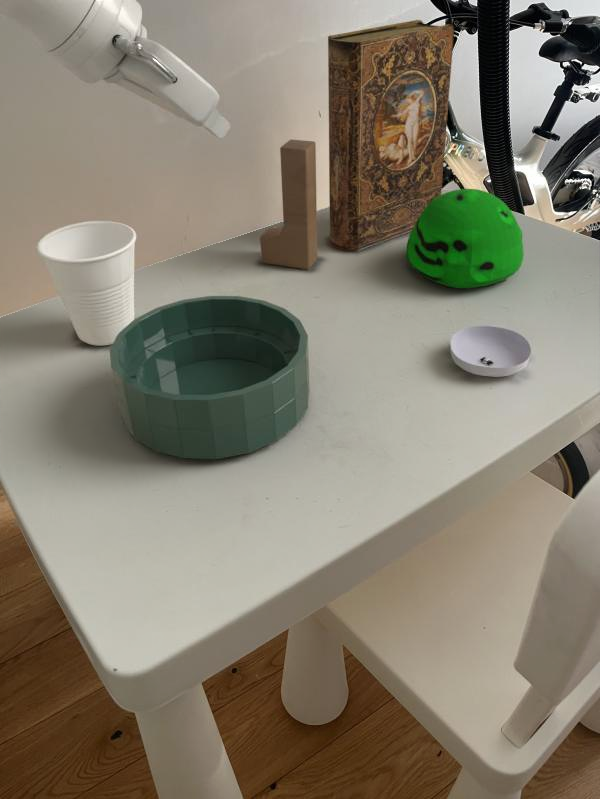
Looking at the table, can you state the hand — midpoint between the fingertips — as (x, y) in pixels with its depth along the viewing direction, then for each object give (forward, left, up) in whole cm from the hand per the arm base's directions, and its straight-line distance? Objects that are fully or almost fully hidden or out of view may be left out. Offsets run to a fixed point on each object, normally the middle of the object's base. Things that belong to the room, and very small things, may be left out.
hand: (203, 121), depth 78 cm
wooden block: (-1, +10, -20) cm, 22 cm away
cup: (+3, -16, -20) cm, 25 cm away
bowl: (+22, -12, -19) cm, 32 cm away
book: (-1, +26, -20) cm, 32 cm away
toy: (+14, +26, -20) cm, 36 cm away
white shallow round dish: (+31, +14, -20) cm, 39 cm away
